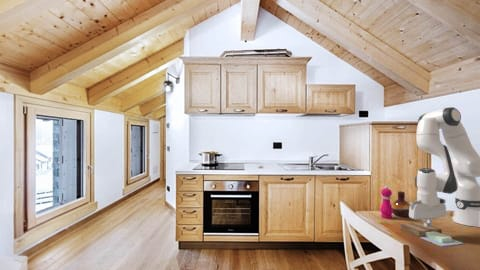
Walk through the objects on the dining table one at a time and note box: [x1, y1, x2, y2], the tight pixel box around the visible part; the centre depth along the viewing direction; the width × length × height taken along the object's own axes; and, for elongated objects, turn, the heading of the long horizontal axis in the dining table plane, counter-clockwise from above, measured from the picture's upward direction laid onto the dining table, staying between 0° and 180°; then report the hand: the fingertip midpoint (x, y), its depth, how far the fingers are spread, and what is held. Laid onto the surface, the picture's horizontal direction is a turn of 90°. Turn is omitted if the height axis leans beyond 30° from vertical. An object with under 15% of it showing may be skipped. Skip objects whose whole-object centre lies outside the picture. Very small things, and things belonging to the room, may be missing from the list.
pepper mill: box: [379, 185, 393, 220], centre depth 173 cm, size 7×7×20 cm
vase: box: [391, 190, 410, 218], centre depth 176 cm, size 11×11×15 cm
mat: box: [419, 236, 465, 247], centre depth 134 cm, size 13×12×1 cm
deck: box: [400, 221, 443, 238], centre depth 146 cm, size 14×12×3 cm
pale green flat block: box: [425, 231, 453, 243], centre depth 135 cm, size 6×9×2 cm, turn 12°
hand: (427, 226), depth 142 cm, fingers closed
